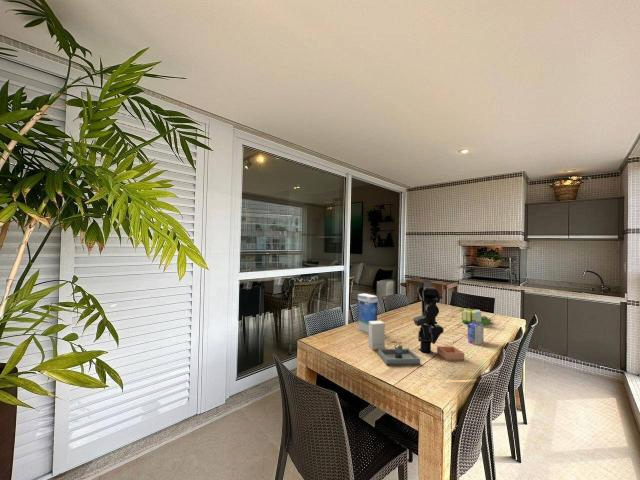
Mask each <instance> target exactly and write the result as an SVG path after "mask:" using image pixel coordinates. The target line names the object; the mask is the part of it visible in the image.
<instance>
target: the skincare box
mask: <svg viewBox="0 0 640 480" xmlns="http://www.w3.org/2000/svg"><path fill="white" fill-rule="evenodd" d="M385 326H386V323H385V322H383V321H382V320H377V321H369V334H368V347H369V348H370V349H371V350H372V351H375V350H376V351H377V350H378V349H386V347H385V343H386V339H385V335H386V333H385V332H386V330H385V328H386V327H385Z"/></svg>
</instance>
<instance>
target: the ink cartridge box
mask: <svg viewBox="0 0 640 480" xmlns="http://www.w3.org/2000/svg"><path fill="white" fill-rule="evenodd" d="M473 321H475V320H472V322H473ZM484 334H485V333H484V325H483V324H481V323H477V322H476V321H475V322H473V323H471V324H468V323H467V343H468V344H471V345H474V346H477V345H481V344H484V340H485V339H484V337H485V336H484Z"/></svg>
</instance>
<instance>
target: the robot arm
mask: <svg viewBox="0 0 640 480" xmlns="http://www.w3.org/2000/svg"><path fill="white" fill-rule="evenodd" d="M417 293H418V297H419V299H420V300H421V315H418V316H416V317H413V322H414V324H415V325H416V326H417V327H419V330H418V333H417V340H418V342H420V348H417V350H418V351H419V352H421V354H433V353H434V351H432V345H436V343H437V341H438V340H439V338H440V336H441V334H443V333H444V327H443V326H442V325H440V324H438V322H437V317H438V315H439V312H440V309H439V307H438V305H437V303H439V304H440V301H441V295H440V292H439V290H438V289H437V287H434V286H433V284H432V282H431V280H426V279H423V280H421V282H420V283H418V285H417Z"/></svg>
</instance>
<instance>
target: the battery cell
mask: <svg viewBox="0 0 640 480" xmlns="http://www.w3.org/2000/svg"><path fill="white" fill-rule="evenodd" d="M394 349H395V358H396V359H398V358H402V349H403V346H402V345H400V344H395V345H394Z"/></svg>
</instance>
